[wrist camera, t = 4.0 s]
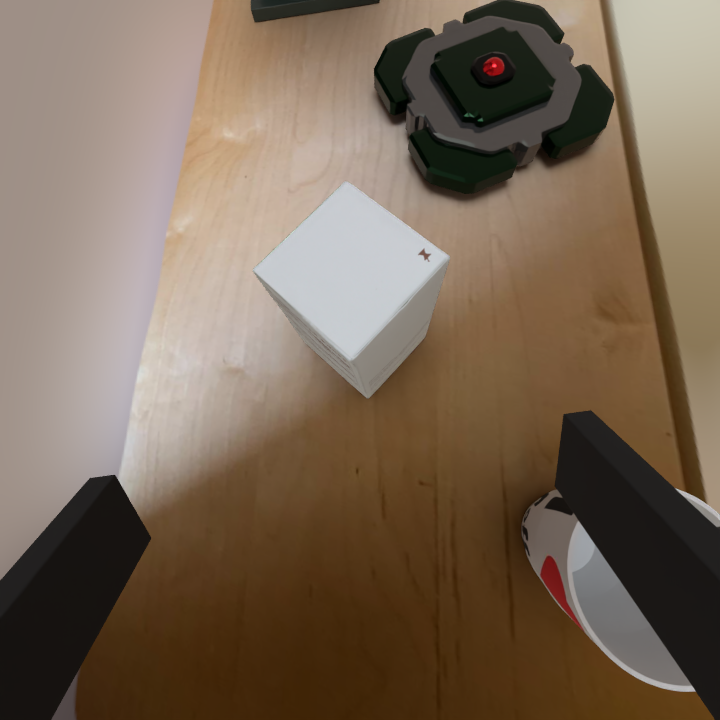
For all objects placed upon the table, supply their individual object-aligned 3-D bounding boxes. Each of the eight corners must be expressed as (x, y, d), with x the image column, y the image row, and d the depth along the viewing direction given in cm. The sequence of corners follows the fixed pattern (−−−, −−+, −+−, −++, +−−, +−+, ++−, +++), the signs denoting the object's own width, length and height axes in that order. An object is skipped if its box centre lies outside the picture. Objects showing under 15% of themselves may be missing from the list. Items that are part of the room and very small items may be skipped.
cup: (507, 462, 27) (575, 465, 17) (623, 488, 26) (762, 507, 16) (492, 581, 25) (559, 658, 16) (616, 614, 24) (770, 719, 15)
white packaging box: (362, 282, 32) (348, 173, 19) (427, 337, 30) (457, 255, 18) (302, 342, 31) (246, 267, 18) (366, 403, 29) (352, 364, 17)
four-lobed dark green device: (438, 215, 33) (447, 178, 28) (361, 78, 37) (358, 28, 33) (616, 143, 34) (651, 95, 29) (519, 17, 38) (536, -40, 34)
